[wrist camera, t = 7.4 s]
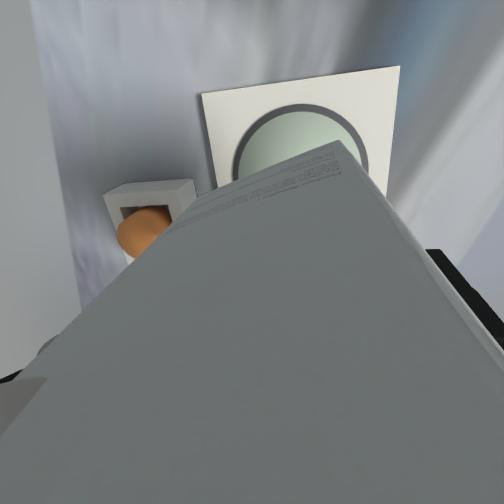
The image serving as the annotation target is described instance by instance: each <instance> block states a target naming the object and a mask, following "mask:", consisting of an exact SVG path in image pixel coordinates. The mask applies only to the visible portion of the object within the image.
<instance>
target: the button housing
mask: <svg viewBox="0 0 504 504" xmlns="http://www.w3.org/2000/svg"><path fill="white" fill-rule="evenodd" d="M103 198H104V201H105V203H106V206H107V209H108V211H109V214H110V217H111V219H112V222H113V225H114V227H115V230H116V232H117V228H118V226H119V224H120V223H121V222H122V221H124V220H125V219H127V218H128V217H129V216H131V215H132V214H134V213H135V212H137V211H138V210H139V209H141V208H142V207H144V206H151V205H154V206H158V207H161V208H163V209H164V210H166V211H167V212H168V213H169V214H170V215H171V218H172V222H173V221H174V220H175V219H176V218H177V217H178V216H179V215H180V214H181V213H182V212H183V211H184V210H185V209H186V208H188V207H189V206H190V205H191V204H192V203H193V202H194V201H195V200H196V199H197V196H196V191H195V187H194V182H193V178H189V179H176V180H163V181H150V182H137V183H125V184H123V185H121V186H119V187H117V188H115V189H113V190H111V191H109V192H107V193H105V194H103ZM123 251H124V250H123ZM124 254H125V256H126V259H127V262H128V264H131V263H132V262H133V261H134V260H135V258H133V257H131V256H129V255H128V254H127V253H126V252H125V251H124Z"/></svg>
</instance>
